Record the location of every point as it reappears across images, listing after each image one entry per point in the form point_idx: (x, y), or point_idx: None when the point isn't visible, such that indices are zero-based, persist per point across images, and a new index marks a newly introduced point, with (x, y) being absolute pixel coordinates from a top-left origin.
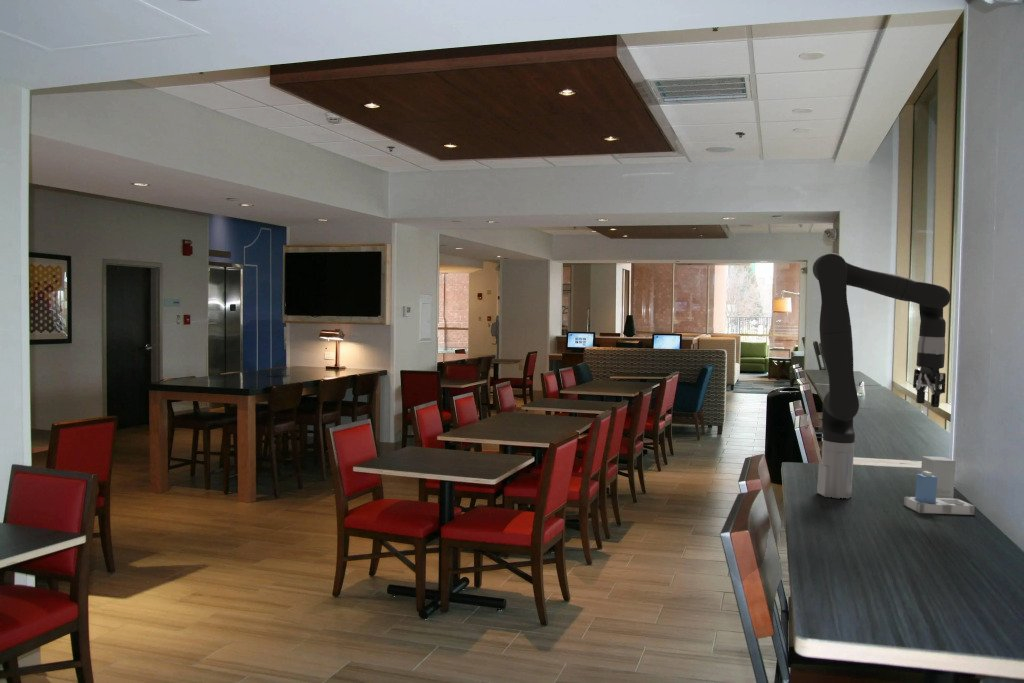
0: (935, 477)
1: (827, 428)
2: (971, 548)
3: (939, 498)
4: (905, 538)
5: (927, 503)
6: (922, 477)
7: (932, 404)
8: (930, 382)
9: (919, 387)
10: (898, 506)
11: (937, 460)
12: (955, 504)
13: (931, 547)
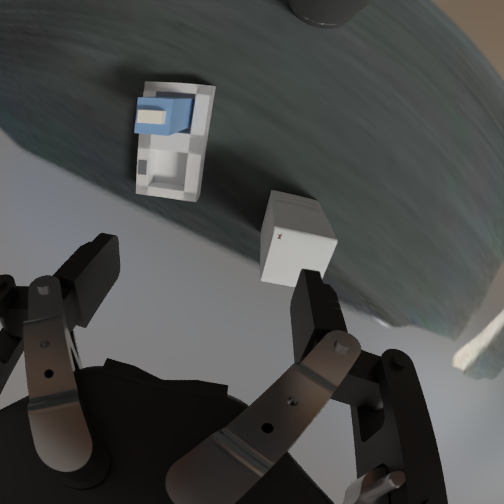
0: (135, 128)
1: None
2: (5, 76)
3: (194, 160)
4: (40, 6)
5: None
6: (145, 97)
7: (97, 240)
8: (27, 357)
9: (304, 360)
10: (218, 76)
11: (272, 238)
12: (144, 160)
13: (12, 28)
